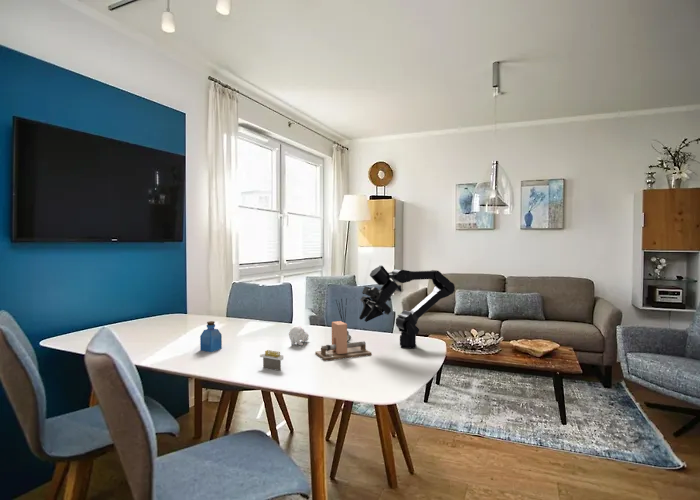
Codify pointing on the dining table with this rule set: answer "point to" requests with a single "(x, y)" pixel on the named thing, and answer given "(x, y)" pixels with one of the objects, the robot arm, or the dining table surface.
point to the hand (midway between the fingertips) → (362, 320)
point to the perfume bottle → (210, 338)
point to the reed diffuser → (343, 318)
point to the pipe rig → (352, 351)
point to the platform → (272, 360)
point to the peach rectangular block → (339, 337)
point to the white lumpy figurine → (298, 335)
